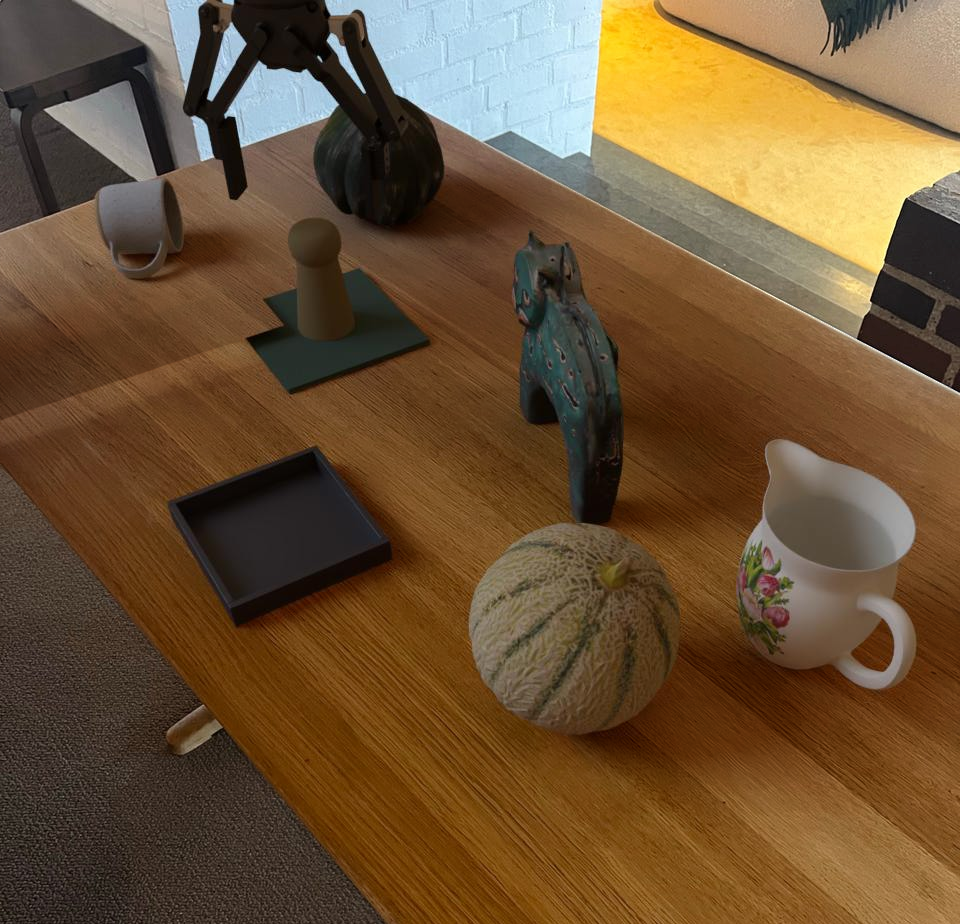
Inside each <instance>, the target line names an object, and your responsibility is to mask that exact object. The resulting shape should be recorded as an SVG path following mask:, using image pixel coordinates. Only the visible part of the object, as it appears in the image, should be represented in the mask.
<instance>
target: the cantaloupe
mask: <svg viewBox="0 0 960 924" xmlns="http://www.w3.org/2000/svg"><path fill="white" fill-rule="evenodd" d="M678 601H679V600H678V596H677V593H676V590H675V589H674V587H673V585H672V583H671V581H670V579H669V578H668V576H667V574H666V572H665V571H664V569H663V567H662V565H661V564H660V562H659V561H658V560H657V559H656V557H655V556H654V555H653V554H652V553H650V552H649V551H648V550H647V548H645V547H644V546H642V545H641V544H640V543H638V542H635V541H633V540H631V539H629V538H628V537H626V536H624V535H623V534H622V533H620V532H618V531H616V530H614V529H612V528H611V527H607V526H602V525H598V524H586V523H578V522H575V523H572V522H559V523H555V524H551V525H549V526H543V527H541V528H539V529H535V530H534V531H532V532H530V533H527V534H525V535H524V536H522V537H521V538H519V539H518V540H517V541H514V542H513V543H511V544H510V546H508V548H507V549H506V550H505V551H504V552H503V553H502V554H501V555H500V556H499V558H497V559H496V560H495V562H493V564H491V566H489V568H488V569H487V570H486V572H485V573H484V575H483V576H482V577H481V579H480V580H479V582H478V584H477V586H476V588H475V589H474V593H473V597H472V600H471V603H470V608H469V616H468V630H469V631H468V636H469V638H470V641H471V651H472V657H473V659H474V662H475V665H476V669H477V671H478V673H479V675H480V677H481V679H482V681H483V683H484V684H485V685H486V686H487V687H488V688H489V689H490V691H492V692H493V693H494V695H495V697H496V699H497V700H498V702H499V703H501V705H503V706H504V708H505V709H506V710H507V711H508V712H511V713H512V714H514V715H515V716H517V717H518V718H521V719H523V720H525V721H528V722H530V723H531V724H532V725H535V726H537V727H539V728H541V729H544V730H546V731H550V732H554V733H558V734H563V735H578V736H579V735H586V734H590V733H594V732H599V731H607V730H610V729H613V728H615V727H618V726H619V725H620V724H622V723H625V722H627V721H629V720H630V719H631V718H634V717H637V716H638V715H639V713H640V712H641V711H643V710H644V708H646V707H647V705H649V703H651V701H652V700H653V698H654V697H655V696H656V695H657V693H658V692H659V690H660V689H661V688H662V686H663V685H664V684H665V682H666V681H667V679H668V678H669V676H670V674H671V672H672V671H673V668H674V664H675V661H676V659H677V657H678V652H679V646H680V645H679V644H680V641H681V639H680V637H681V636H680V632H681V631H680V630H681V629H680V620H681V613H680V612H681V611H680V605H679V602H678Z"/></svg>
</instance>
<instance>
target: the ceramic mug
mask: <svg viewBox="0 0 960 924" xmlns="http://www.w3.org/2000/svg"><path fill="white" fill-rule="evenodd" d="M93 203H94V204H93V208H94V217H95V222H96V227H97V230H98V233H99V236H100V238H101V241H102V242H103V244H104V246H105V248H107V250H109V251H110V257H111V259H112V262H113V264H114V266H115V267H116V269H117V270H118V272H119V273H120V274H121V275H123V276H125V277H126V278H130V279H134V278H135V280H139V278H143V279H147V278H150V277H152V276H155V274H157V273H158V272H159V271H160V270H161V269H162V268H163V266H164V264H165V261H166V258H167V254H178V253H180V252H182V250H183V246H184V239H185V238H184V236H185V235H184V222H183V217H182V212H181V208H180V203H179V200H178V197H177V194H176V191H175V188H174V186H173V184H172V183H171V182H170V180H169V179H168V178H164V177H162V178H161V177H160V178H153V179H148V180H141V181H140V180H139V181H133V182H125V183H124V182H122V183H116V184H115V183H114V184H110V185H106V186H104V187H101V188H99V189H98V190H97V192H96V194H95V196H94V202H93ZM141 254H149V255H150V254H155V257H154V258H153V259H152V261H151V262H150V263H148V264H147V265H146V266H144V267H141V268H138V269H137V268H131V267H126V266H125V265H123V264H121V263H120V262H119V261H120V260H119V255H141Z"/></svg>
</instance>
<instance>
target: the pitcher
mask: <svg viewBox="0 0 960 924" xmlns="http://www.w3.org/2000/svg"><path fill="white" fill-rule="evenodd" d="M764 451H765V452H764V454H765V455H764V457H765V459H766V460H765V461H766V465H767V469H768V474H769V476H770V477H769V482H768V485H767V488H766V491H765V493H764V497H763V502H762V517H761V520H760V521H759V522H758V524H757V525H756V526H755V527H754V529H753V531H752V532H751V534H750V535H749V537H748V539H747V542H746V544H745V546H744V549H743V552H742V554H741V558H740V560H739V565H738V570H737V574H736V575H737V576H736V592H735V593H736V604H737V605H736V606H737V611H738V615H739V619H740V623H741V626H742V629H743V631H744V633H745V635H746V637H747V638H748V640H749V641H750V643H751V644H752V645H753V646H754V647H755V649H756V650H757V651H758V652H759V654H760V655H762V656H763V657H764V658H765V659H767V660H768V661H769V662H772V663H773V664H775V665H777V666H780V667H783V668H787V669H791V670H809V669H814V668H817V667H821V666H826V665H828V664H829V665H831V666H833V667H834V668H835V669H836V670H837V671H839V672H840V673H841V674H842V675H843V676H844V677H846V678H847V679H848V680H850V681H851V682H852V683H854V684H856V685H858V686H860V687H862V688H865V689H868V690H872V691H883V690H888V689H892V688H894V687H895V686H897V685H898V684H900V683H901V682H902V681H903V680H904V679H905V678H906V676H907V675H908V673H909V671H910V669H911V668H912V667H913V666H912V665H913V663H914V661H915V660H914V659H915V657H916V652H917V635H916V631H915V626H914V624H913V622H912V618H910V616H909V614H908V612H907V611H906V610H905V609H904V608H903V607H902V605H900V604H899V603H897V602H896V601H895V600H893V597H894V596H895V595H894V594H895V591H896V587H897V582H898V572H899V571H898V570H899V564H900V563H901V562H902V561H903V560H904V559H905V558H906V556H907V555H908V554H909V552H910V551H911V549H913V548H912V547H913V545H914V544H915V541H916V537H917V525H916V524H917V523H916V519H915V517H914V514H913V512H912V510H911V508H910V506H908V504H907V503H906V501H905V500H904V499H903V497H901V496H900V495H899V493H898V492H896V491H895V490H894V489H893V488H892V487H891V486H890V485H888V484H887V483H886V482H884V481H882V480H881V479H879V478H877V477H876V476H874V475H872V474H870V473H868V472H867V471H865V470H861V469H859V468H856V467H853V466H850V465H847V464H843V463H840V462H836V461H832V460H829V459H827V458H824V457H822V456H820V455H818V454H817V453H815V452H814V451H812V450H810V449H809V448H807V447H805V446H803V445H801V444H799V443H796V442H794V441H792V440H789V439H783V438H777V439H773V440H771V441H769V442H768V443H767V444H766V446H765V449H764ZM882 619H883V620H884V621H885V622H886V624H887V625H888V627H889V629H890V632H891V634H892V638H893V644H894V646H893V647H894V650H893V655H892V656H893V657H892V659H891V662H890V664H889V665H888V667H887V668H886V669H885V671H880V670H879V671H878V670H874V669H871V668H868V667H866V666H865V665H863V664H862V663H860V662H859V661H858V660H857V659H856V658H855V657H854V656H853V655H852V652H853V651H854V650H855V649H856V648H857V647H859V646H860V645H861V644H862V643H864V641H865V640H867V639H868V638H869V637H870V636H871V635H872V633H873V632H874V630H875V629H876V628H877V627H878V625H879V624H880V623H881V622H882Z"/></svg>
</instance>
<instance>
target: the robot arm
mask: <svg viewBox="0 0 960 924" xmlns="http://www.w3.org/2000/svg"><path fill="white" fill-rule="evenodd" d="M197 15H198V24H199V25H198V26H199V38H198V42H197V45H196V50H195V54H194V58H193V62H192V66H191V71H190V74H189V77H188V78H189V79H188V82H187V87H186V91H185V95H184V99H183V103H182V111H183V113H184V114H185V115H186V116H187V117H189V118H193V117H196V118H198V119H200V120H202V121H203V122H204V124H205V125H206V127H207V133H208V136H209V142H210V147H211V153H212V155H213V157H214V159H215V160H216V161H217V160H218V161H222V167H223V172H224V178H225V182H226V187H227V192H228V199H229V200H230V201H231V200H232V201H238V200H239V199H240V197H241V196H242V195H243V193H244V192H245V191H246V190H247V189H248V187H249V186H248V180H247V174H246V168H245V163H244V157H243V152H242V151H243V150H242V146H241V140H240V134H239V129H238V123H237V118H236V116H232V115H227V116H226V115H225V114H227V113H228V111H229V109H230V107H231V106H232V104H233V102H234V101H235V99H236V98H237V96H238V94H239V93H240V91H241V90H242V88H243V87H244V85H245V84H246V82H247V80H248V78H249V77H250V75H251V74H252V73H253V72H254V69H255V68H256V67H257V65H258V63H259V62H260V63H261V64H262V65H263V66H266V70H273V71H276V70H282V69H285V70H287V71H290V72H292V73H300V74H302V72H303V71H306V70H307V72H308V73H309V74H310V75H311V77H312V78H313V79H314V80H315V81H316V82H319V83H321V84H322V85H323V87H324V88H325V89H326V91H327V92H328V93H329V94H330V95H331V97H332V98H333V99H334V101H335V102H336V103H337V104H338V105H340V107H341V108H342V109H343V111H344V112H345V113H346V114H347V116H348V117H349V118H350V119H351V121H352V122H353V123H354V124H355V126H356V127H357V128H358V129H359V131H360V132H361V133H362V134H363V136H364V137H365V138H366V140H365V141H364V143H363V144H362V146H361V158H362V170H363V182H364V194H365V206H366V217H367V218H368V219H372V220H374V218H375V217H376V215H377V213H378V212H379V210H380V208H381V207H382V205H383V200H382V186H381V181H384V180H385V178H386V176H387V175H388V173H389V170H390V159H389V143H388V142H389V141H394V142H397V141H399V140H400V138H401V137H402V135H403V133H404V132H405V130H406V129H407V127H408V120H407V118H406V116H405V114H404V112H403V110H402V108H401V105H400V103H399V101H398V99H397V97H396V95H395V94H396V93H395V91H394V89H393V87H392V85H391V83H390V81H389V78H388V76H387V75H386V72H385V70H384V68H383V66H382V64H381V62H380V60H379V58H378V56H377V54H376V51H375V50H374V48H373V45H372V44H371V42H370V39H369V31H368V27H367V21H366V16H365V13H364V12H363V11H362V10H361V9H358V8H357V9H354V10H353V11H352V12H351V13H350V14H333V15H331V13H330V10H329V8H328V6H327V3H326V0H233V4H231V3H226V2H224V1H223V0H205V1H204V2H203V3H202V4H201V5H200V6H199V7H198V9H197ZM231 23H232V25H233V28H234V29H235V30H236V31H237V33H238V35H239V36H240V37H241V38H242V39H243V41H244V42H245V46H244V47H243V49H242V50H241V52H240V53H239V54H238V56H237V59H236V60H235V63H234V65H233V66H232V68H231V69H230V70H229V73H228V74H227V76H226V78H225V79H224V81H223V83H222V84H221V86H220V87H219V89H218V91H217V92H216V94H215V96H214V97H213V99H212V100H210V99H208V98H209V93H210V90H211V86H212V82H213V79H214V78H213V77H214V75H215V70H216V67H217V63H218V58H219V54H220V52H221V47H222V43H223V39H224V35H225V32H226V31H228V29H229V28H230V26H231ZM332 34H333V35H334V36H336V38H337V41H338V44H339V45H340V46H341V47H344V48H345V52H346V54H347V57H348V60H349V61H350V64H351V66H352V68H353V70H354V72H355V74H356V76H357V77H358V80H359V82H360V84H361V86H362V88H363V90H364V92H365V93H366V94H367V96H368V98H369V99H368V98H367V97H366V96H365V94H364V92H363V90H362V89H361V87H360V86H359V85H358V84H357V83H356V81H355V80H354V79H353V77H352V76H351V75H350V74H349V73H348V71H347V69H346V68H345V67H344V66H343V64H342V63H341V62H340V57H339V55H338V53H337V52H336V50H334V48H333V47H332V45H331V44H330V43H329V42H328V39H329V38H330V36H331V35H332ZM369 100H370V101H369Z"/></svg>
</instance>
